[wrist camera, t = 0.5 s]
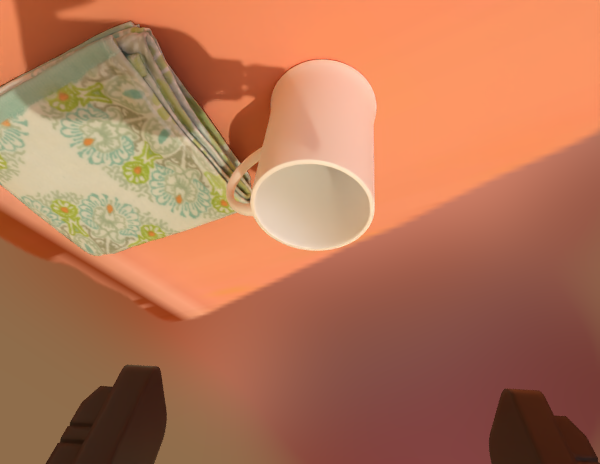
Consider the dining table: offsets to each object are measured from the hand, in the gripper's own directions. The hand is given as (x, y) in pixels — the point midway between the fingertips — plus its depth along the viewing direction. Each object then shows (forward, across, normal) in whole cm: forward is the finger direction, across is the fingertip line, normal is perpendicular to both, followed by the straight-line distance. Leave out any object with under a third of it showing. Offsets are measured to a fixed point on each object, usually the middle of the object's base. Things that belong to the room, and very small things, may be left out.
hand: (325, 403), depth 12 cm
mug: (+32, +2, +1) cm, 32 cm away
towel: (+34, +19, +5) cm, 39 cm away
